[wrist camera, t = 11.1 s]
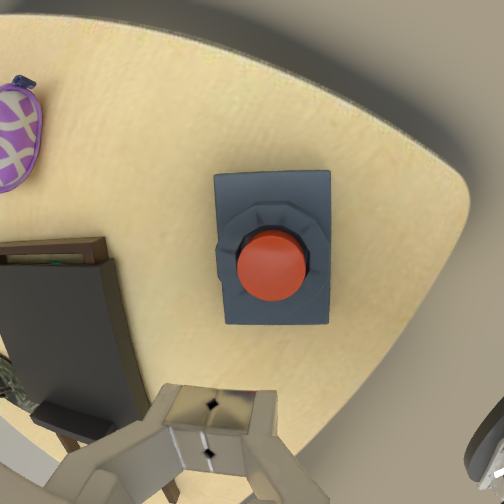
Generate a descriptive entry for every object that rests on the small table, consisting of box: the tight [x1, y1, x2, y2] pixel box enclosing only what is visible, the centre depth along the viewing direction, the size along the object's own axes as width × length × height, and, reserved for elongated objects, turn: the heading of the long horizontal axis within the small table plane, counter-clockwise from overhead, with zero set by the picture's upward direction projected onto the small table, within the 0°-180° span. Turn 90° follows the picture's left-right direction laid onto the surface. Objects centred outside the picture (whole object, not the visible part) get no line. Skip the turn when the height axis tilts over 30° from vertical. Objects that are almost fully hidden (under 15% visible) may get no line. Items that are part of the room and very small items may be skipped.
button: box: [237, 229, 306, 301], centre depth 17 cm, size 4×4×2 cm
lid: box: [0, 258, 150, 445], centre depth 23 cm, size 17×17×5 cm
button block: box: [214, 170, 331, 325], centre depth 19 cm, size 10×7×4 cm
